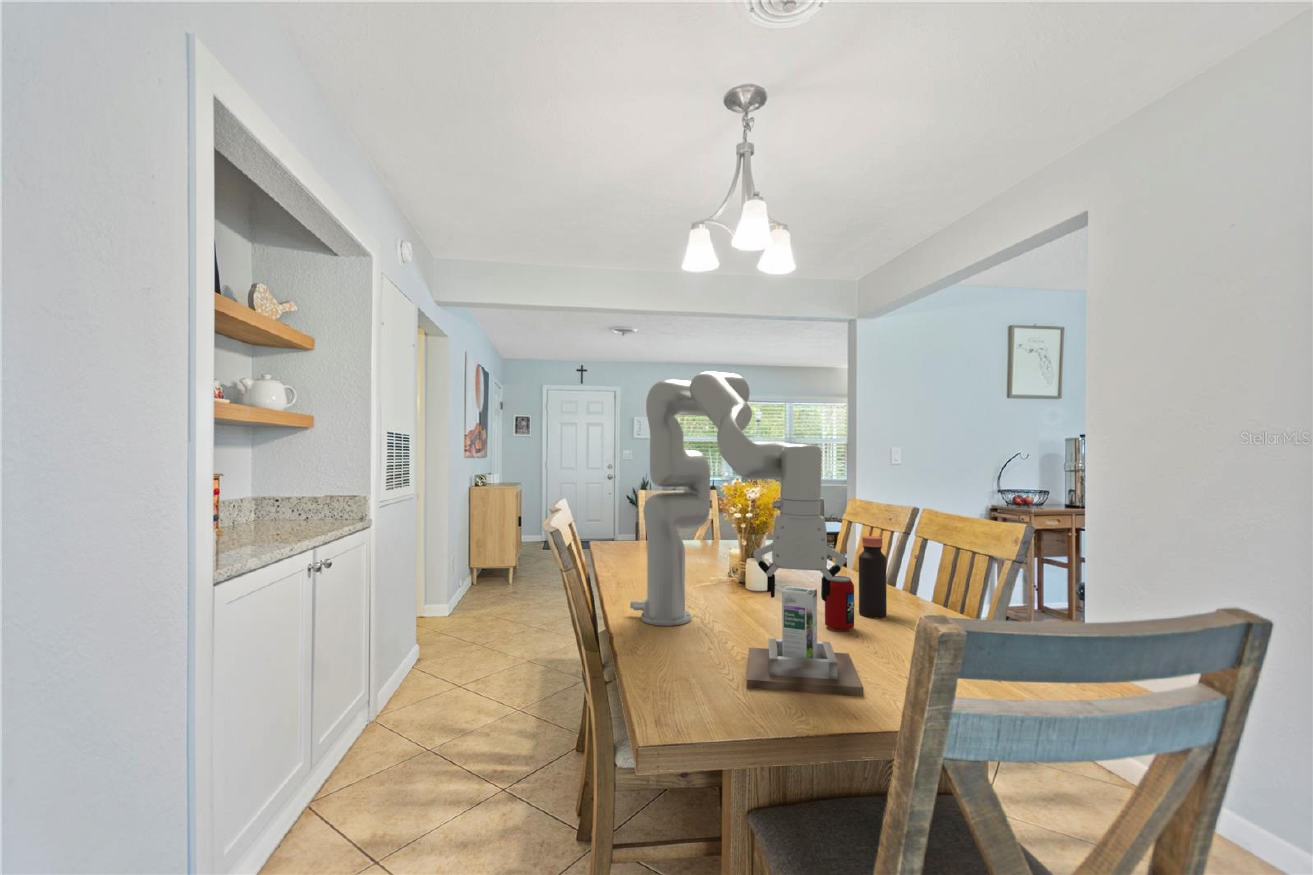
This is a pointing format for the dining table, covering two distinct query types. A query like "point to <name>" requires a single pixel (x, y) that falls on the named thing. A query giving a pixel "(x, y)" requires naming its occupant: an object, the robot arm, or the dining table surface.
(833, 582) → the beverage can
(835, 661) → the collar board
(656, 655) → the dining table surface
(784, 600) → the syrup box
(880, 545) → the bottle
